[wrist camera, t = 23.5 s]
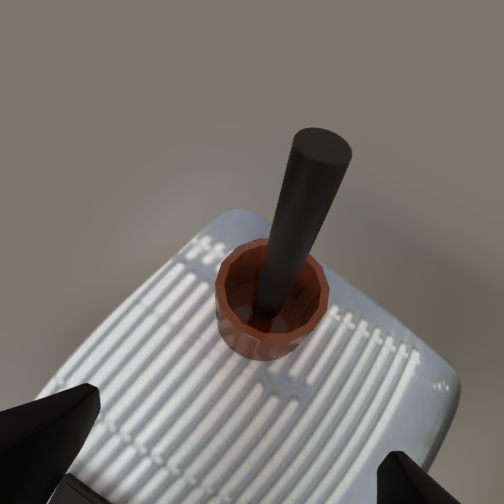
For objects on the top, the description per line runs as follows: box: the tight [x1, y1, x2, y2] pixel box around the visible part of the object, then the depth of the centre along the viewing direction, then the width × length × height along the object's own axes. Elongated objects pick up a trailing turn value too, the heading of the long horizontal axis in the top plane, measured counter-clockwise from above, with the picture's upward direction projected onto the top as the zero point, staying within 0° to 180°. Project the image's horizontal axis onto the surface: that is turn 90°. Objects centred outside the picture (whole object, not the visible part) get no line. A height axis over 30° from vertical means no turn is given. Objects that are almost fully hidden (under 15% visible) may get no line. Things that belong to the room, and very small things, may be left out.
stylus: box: [252, 128, 352, 322], centre depth 14 cm, size 2×2×14 cm
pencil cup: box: [215, 238, 329, 361], centre depth 18 cm, size 6×6×5 cm
